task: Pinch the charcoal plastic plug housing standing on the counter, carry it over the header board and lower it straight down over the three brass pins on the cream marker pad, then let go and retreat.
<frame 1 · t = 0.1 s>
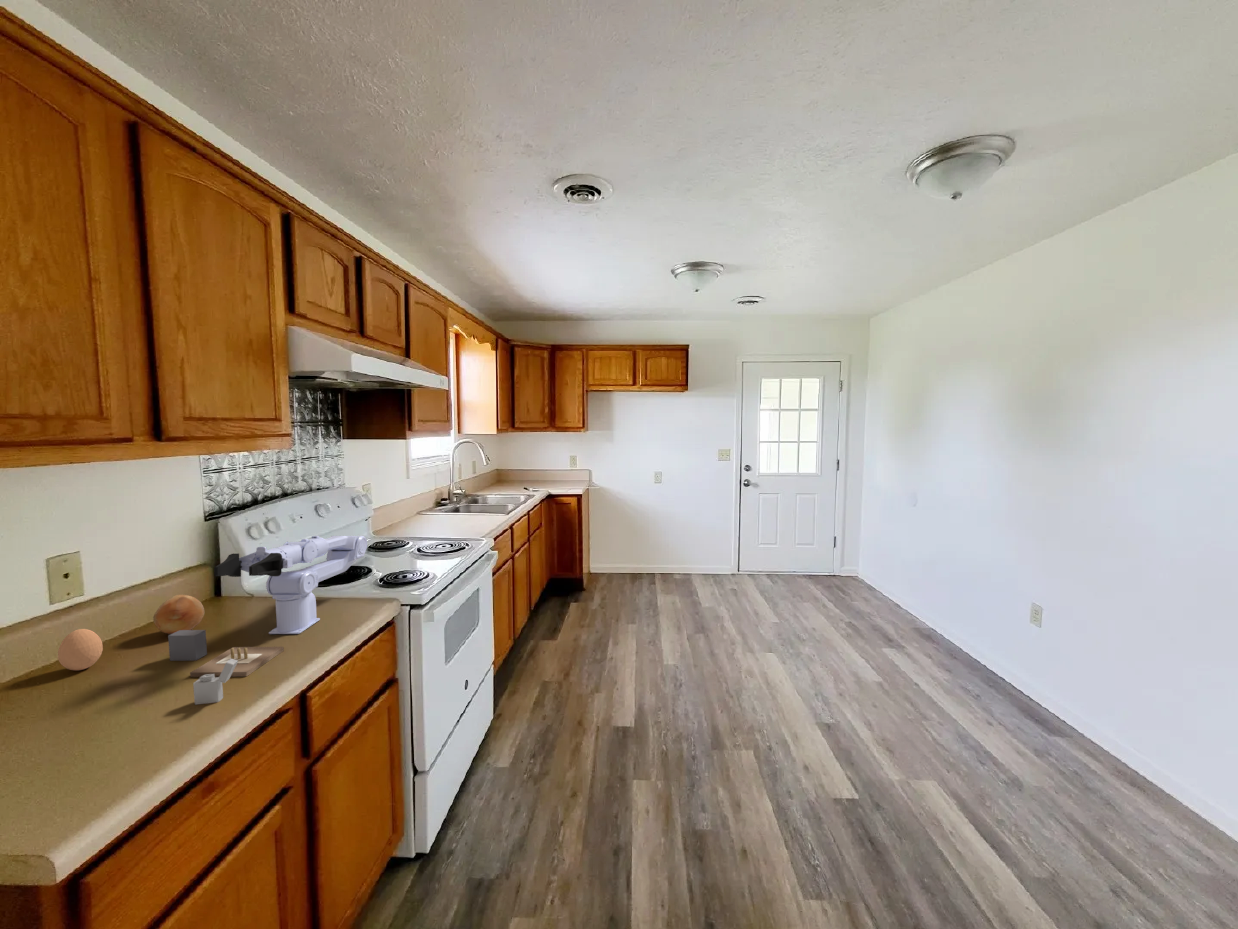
hand: (233, 571, 108), 22 cm above the worktop, tool horizontal, fingers open, 7 cm apart
onion: (180, 633, 126), on the worktop
header board: (239, 663, 109), on the worktop
egg: (82, 670, 107), on the worktop
lighter: (217, 701, 95), on the worktop
plug housing: (188, 657, 112), on the worktop
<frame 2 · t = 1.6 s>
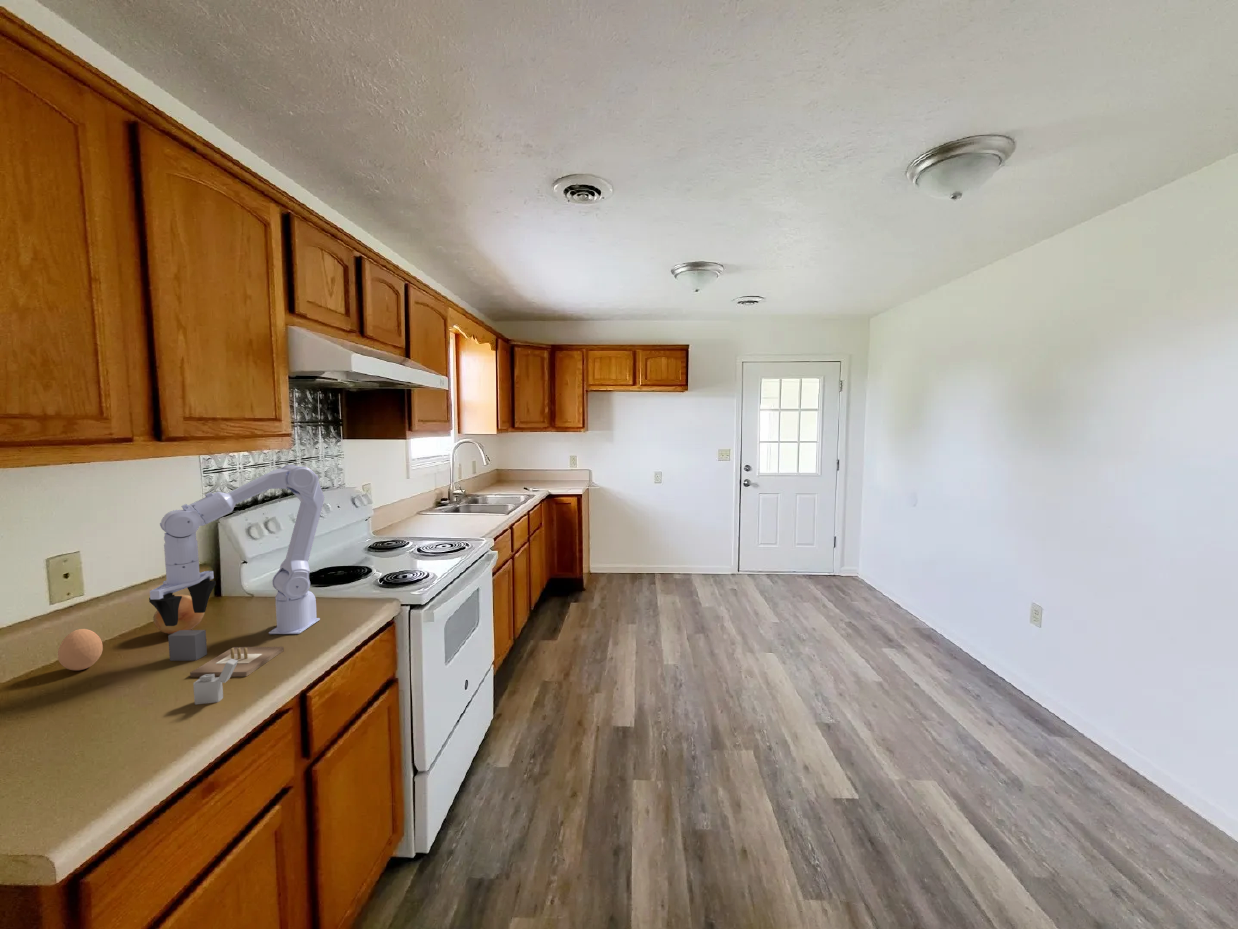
hand: (186, 618, 111), 9 cm above the worktop, tool pointing down, fingers open, 7 cm apart
nothing on the worktop moved.
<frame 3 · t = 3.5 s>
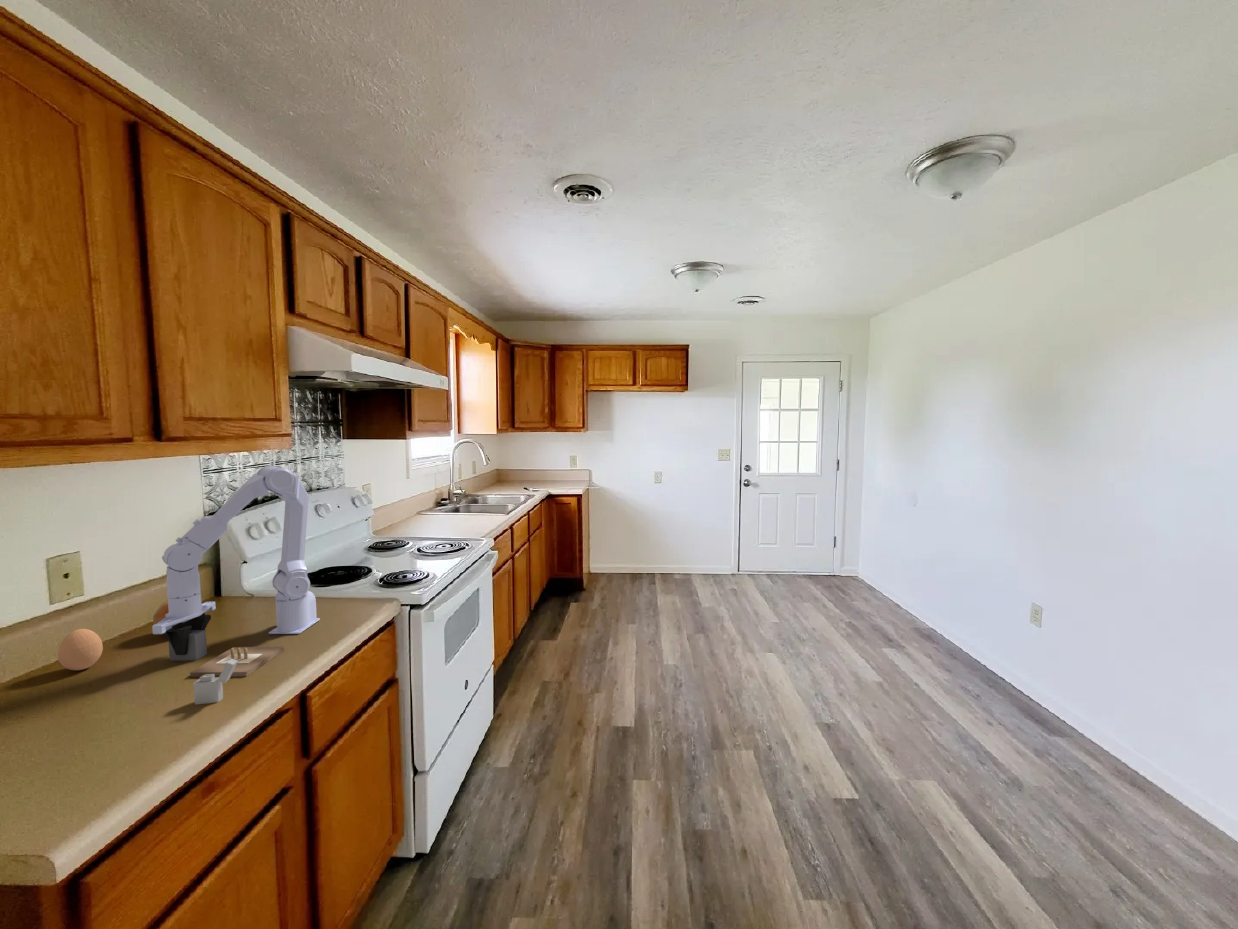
hand: (188, 650, 112), 2 cm above the worktop, tool pointing down, fingers closed on plug housing, 3 cm apart
plug housing: (188, 657, 112), on the worktop, touching gripper
everything else where it was.
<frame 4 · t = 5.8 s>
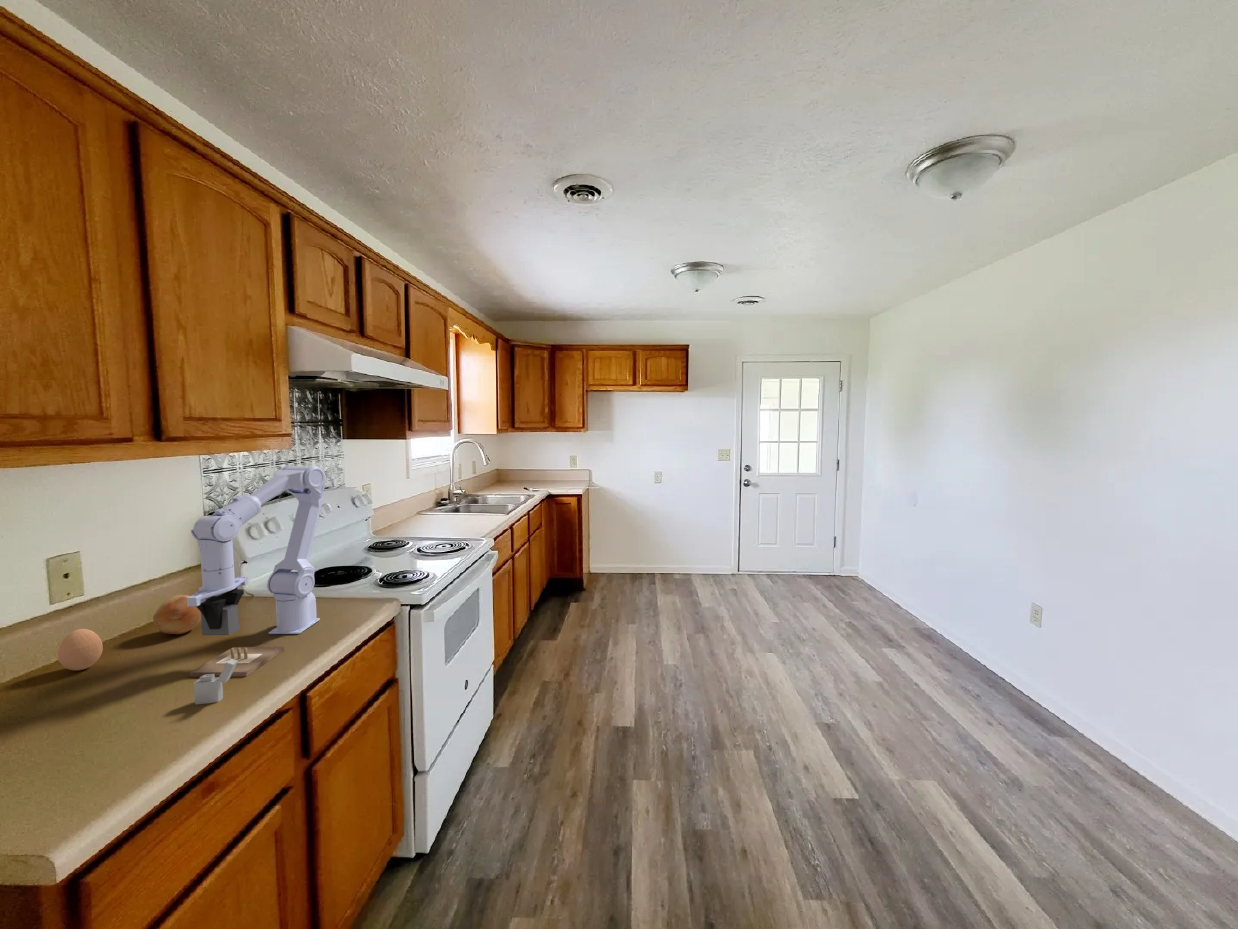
hand: (221, 625, 110), 9 cm above the worktop, tool pointing down, fingers closed on plug housing, 3 cm apart
plug housing: (221, 632, 110), point 7 cm above the worktop, touching gripper
everything else where it was.
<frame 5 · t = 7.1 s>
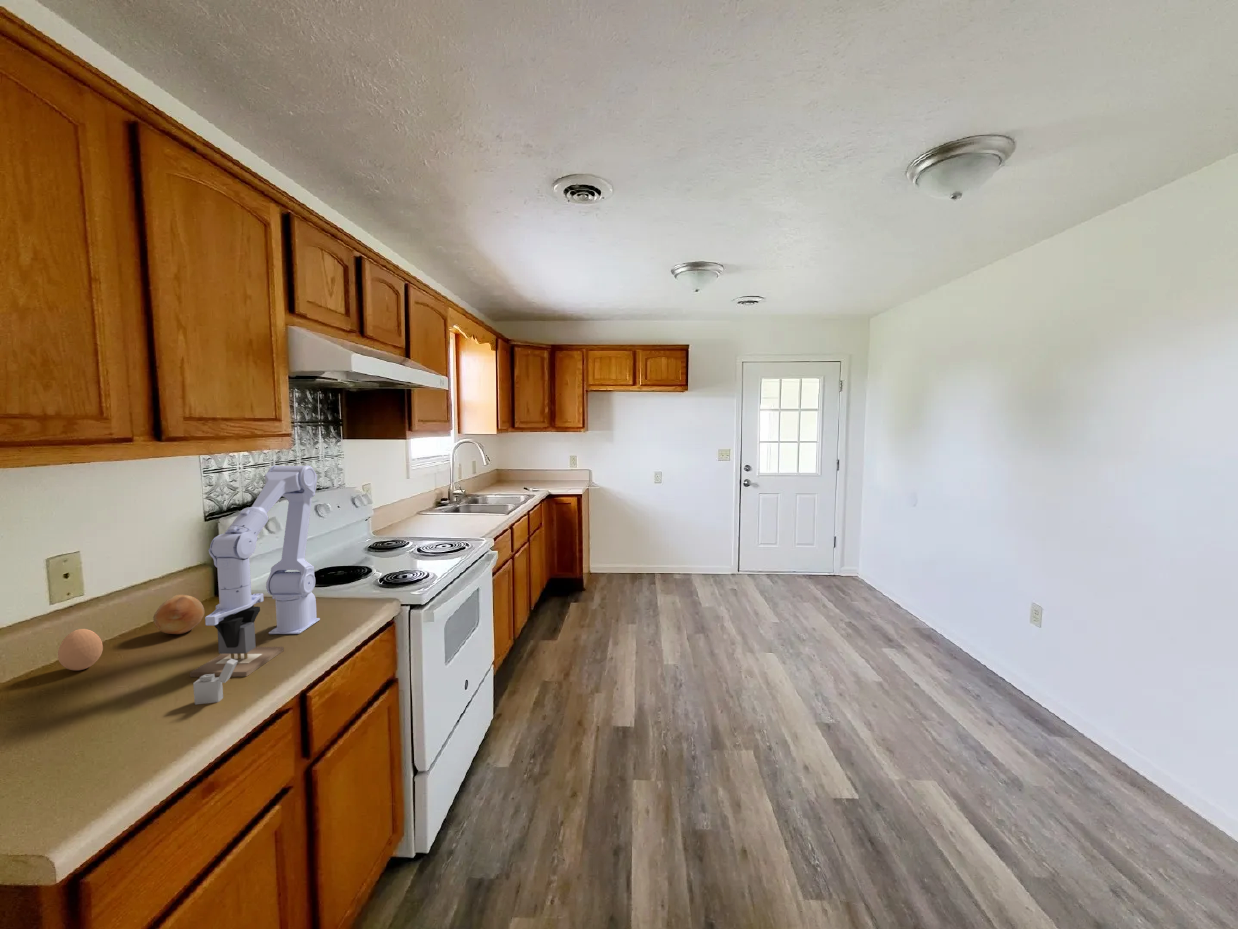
hand: (238, 643, 109), 5 cm above the worktop, tool pointing down, fingers closed on plug housing, 3 cm apart
plug housing: (237, 650, 109), point 3 cm above the worktop, touching gripper
everything else where it was.
when the fingers open (4 cm above the worktop, at t = 8.1 s): plug housing stays where it is, resting on header board.
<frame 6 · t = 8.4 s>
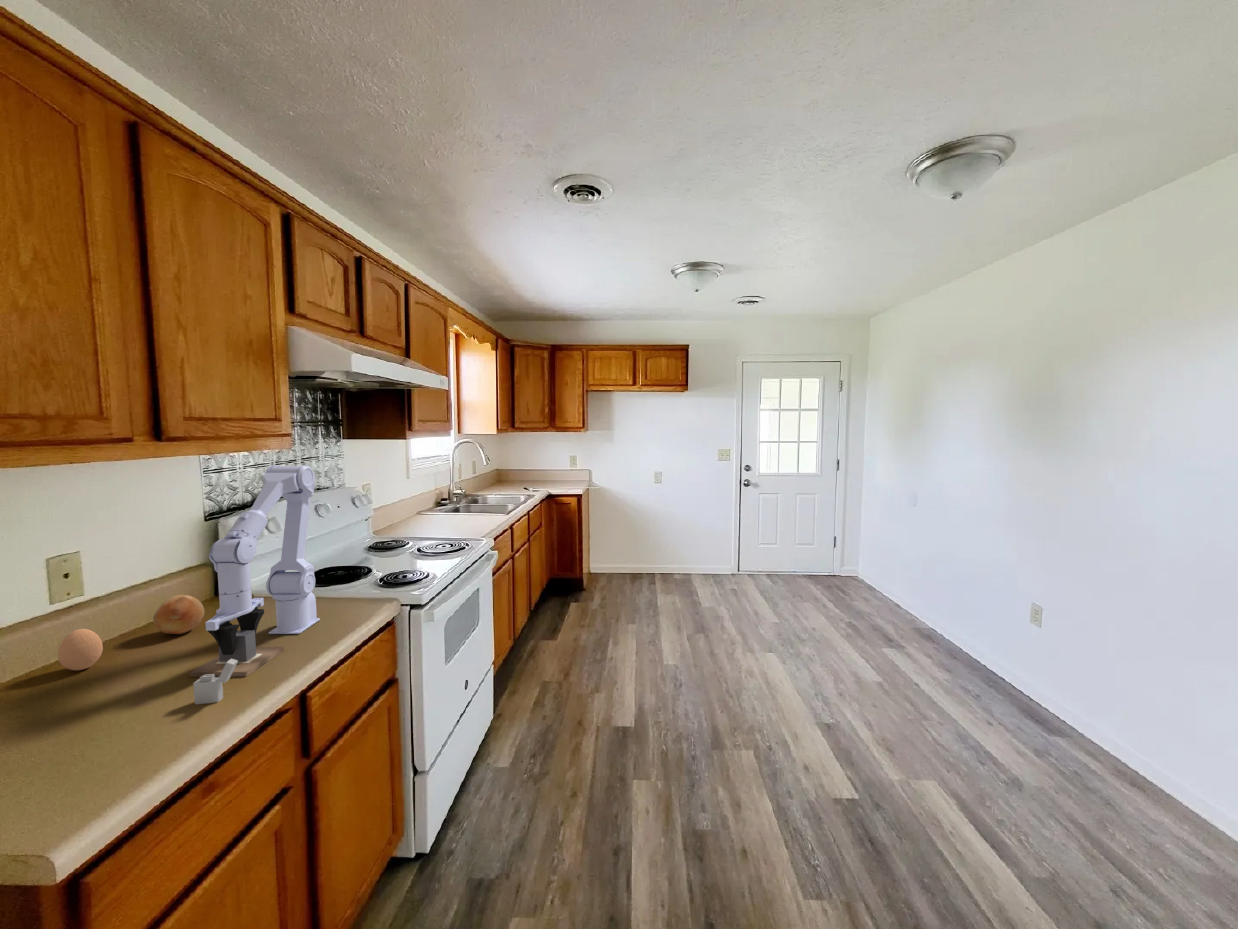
hand: (238, 648, 109), 4 cm above the worktop, tool pointing down, fingers open, 5 cm apart
plug housing: (238, 658, 109), point 1 cm above the worktop, touching header board
everything else where it was.
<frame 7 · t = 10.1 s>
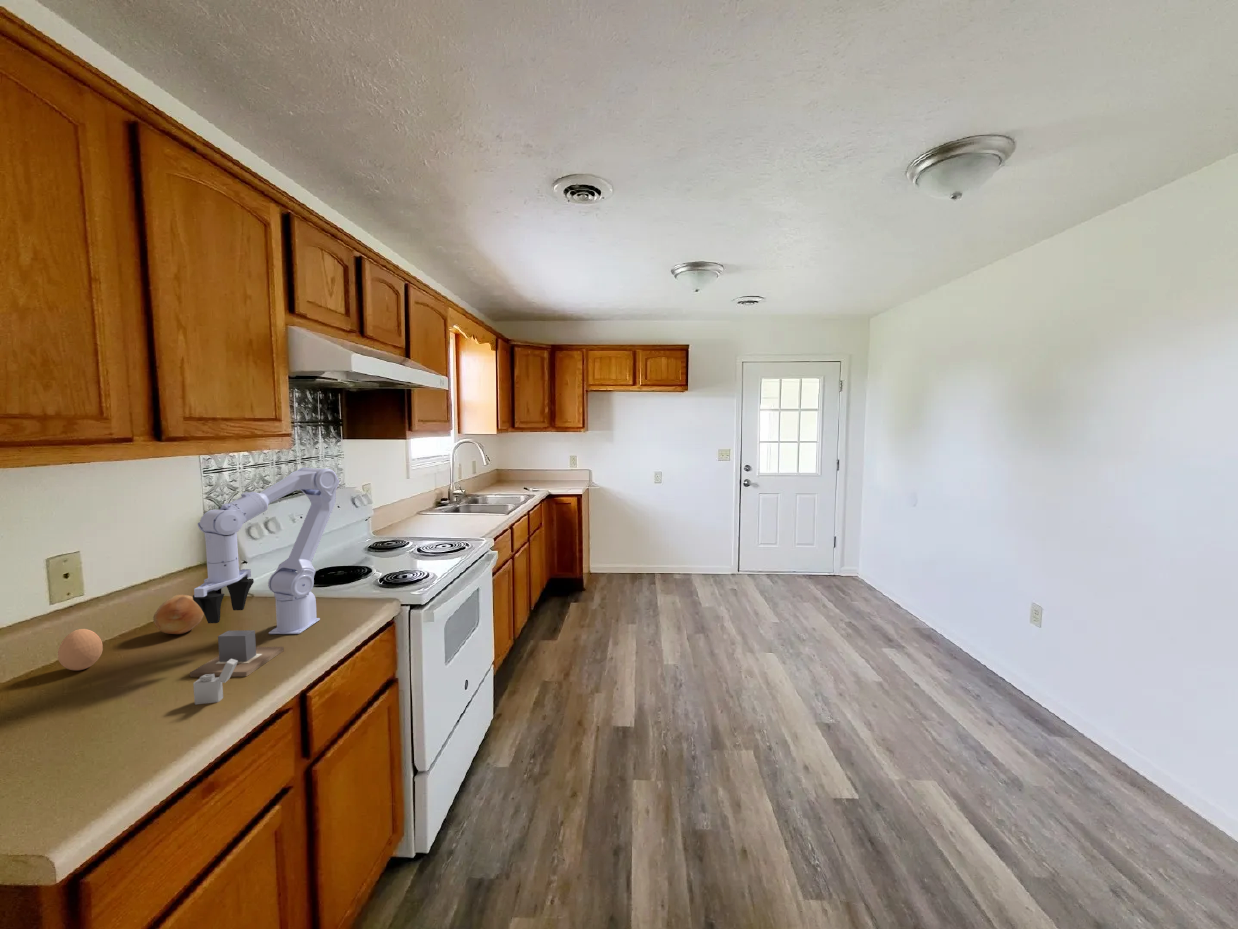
hand: (226, 616, 113), 9 cm above the worktop, tool pointing down, fingers open, 7 cm apart
nothing on the worktop moved.
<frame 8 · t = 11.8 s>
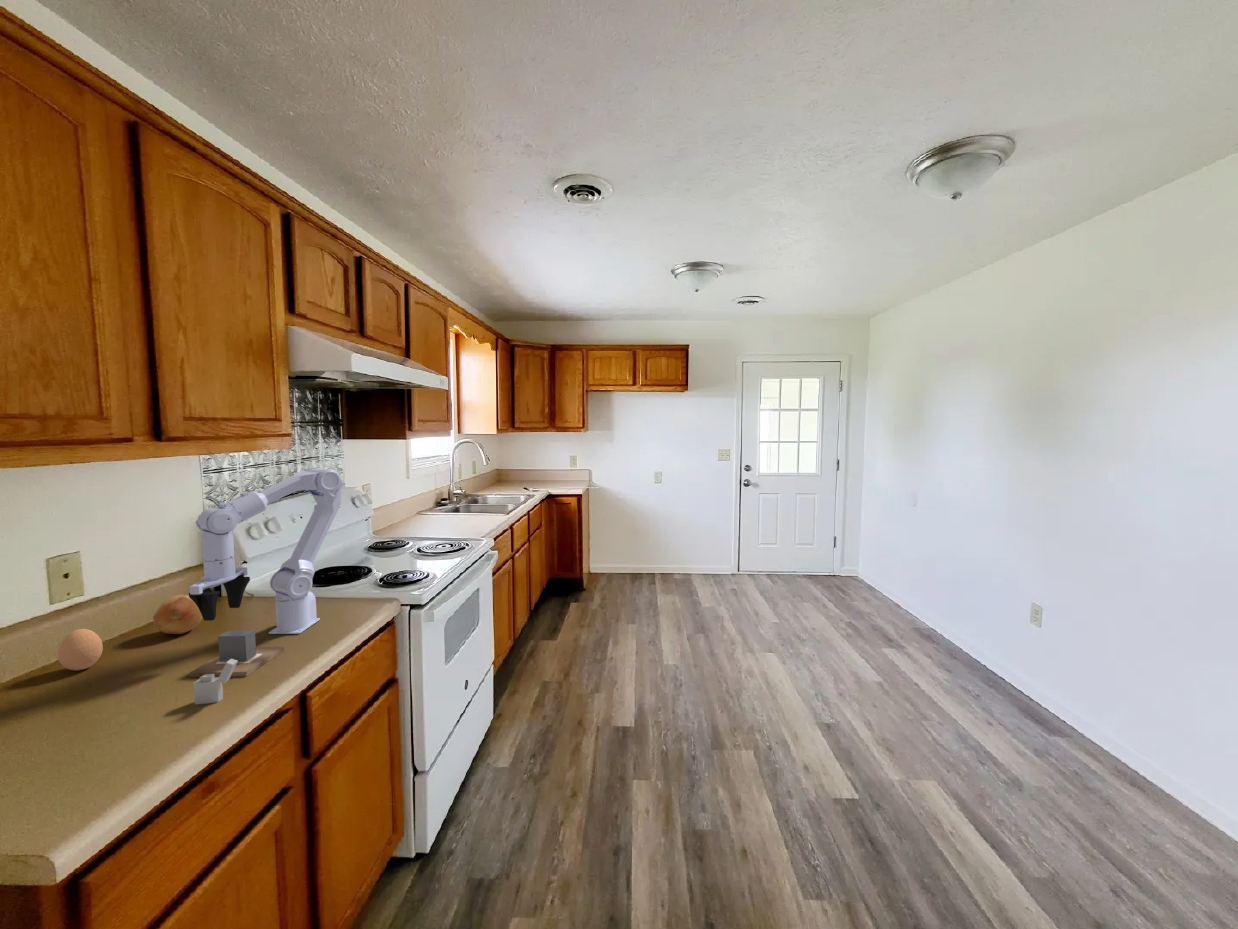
hand: (222, 613, 114), 9 cm above the worktop, tool pointing down, fingers open, 7 cm apart
nothing on the worktop moved.
at the end: plug housing 0.3 cm off-centre on the header board, point 1.1 cm above the header board's base; plug housing tilted 0°; the gripper is holding nothing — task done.
